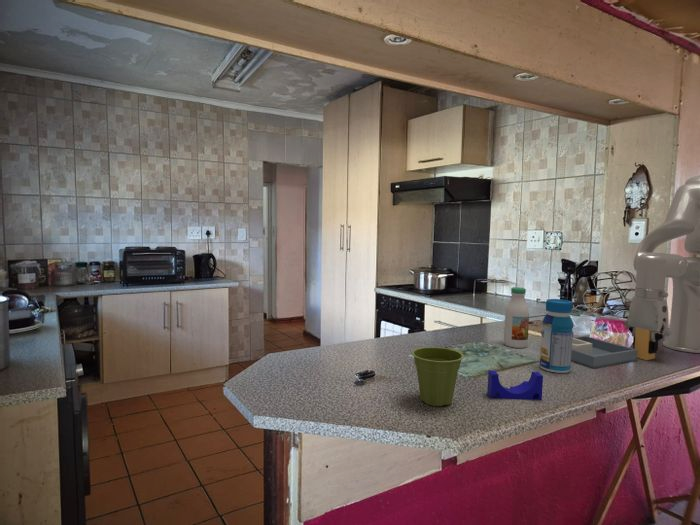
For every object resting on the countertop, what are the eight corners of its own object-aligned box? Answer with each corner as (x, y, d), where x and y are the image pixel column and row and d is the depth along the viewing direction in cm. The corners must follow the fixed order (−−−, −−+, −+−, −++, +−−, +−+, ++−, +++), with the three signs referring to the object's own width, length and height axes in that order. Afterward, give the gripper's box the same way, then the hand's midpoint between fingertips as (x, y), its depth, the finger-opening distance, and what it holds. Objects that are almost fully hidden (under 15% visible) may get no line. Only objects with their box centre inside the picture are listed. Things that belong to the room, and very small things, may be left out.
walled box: (584, 345, 153) (585, 331, 152) (636, 360, 136) (638, 345, 136) (542, 351, 144) (543, 336, 144) (593, 368, 128) (594, 351, 128)
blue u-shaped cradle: (534, 393, 109) (535, 369, 108) (541, 400, 104) (543, 376, 104) (485, 391, 109) (486, 368, 108) (490, 399, 104) (492, 374, 104)
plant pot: (454, 391, 108) (456, 346, 107) (468, 411, 97) (470, 361, 96) (406, 390, 108) (408, 345, 107) (414, 411, 96) (416, 361, 95)
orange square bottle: (641, 355, 142) (644, 318, 141) (654, 358, 138) (657, 321, 137) (633, 356, 140) (636, 319, 139) (646, 360, 137) (649, 322, 136)
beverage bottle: (563, 376, 121) (568, 304, 119) (533, 368, 127) (537, 300, 126) (575, 369, 127) (580, 301, 125) (546, 362, 133) (550, 297, 131)
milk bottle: (501, 346, 150) (504, 288, 148) (505, 341, 156) (508, 285, 155) (526, 349, 146) (529, 290, 144) (528, 344, 153) (531, 287, 151)
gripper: (685, 297, 132) (680, 357, 133) (630, 289, 147) (626, 343, 148) (670, 299, 128) (665, 360, 130) (615, 290, 144) (611, 345, 145)
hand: (644, 350), depth 139 cm, fingers closed on orange square bottle, 4 cm apart
